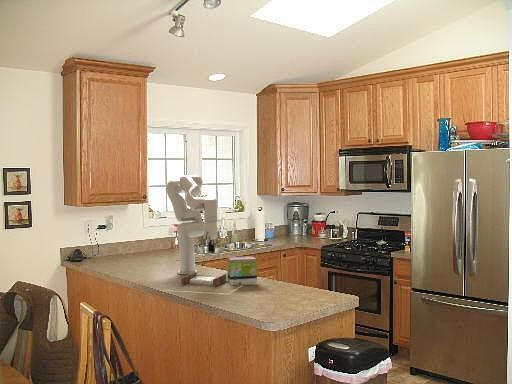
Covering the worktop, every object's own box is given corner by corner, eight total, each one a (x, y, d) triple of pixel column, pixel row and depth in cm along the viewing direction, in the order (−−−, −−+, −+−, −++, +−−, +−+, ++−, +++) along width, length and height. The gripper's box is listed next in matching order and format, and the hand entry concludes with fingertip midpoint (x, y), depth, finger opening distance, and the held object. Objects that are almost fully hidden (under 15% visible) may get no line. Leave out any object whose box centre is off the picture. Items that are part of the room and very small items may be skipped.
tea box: (231, 286, 299) (230, 259, 298) (227, 283, 308) (226, 257, 308) (257, 284, 303) (257, 258, 302) (252, 281, 312) (252, 255, 312)
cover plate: (197, 280, 313) (197, 276, 313) (219, 281, 308) (219, 277, 308) (189, 284, 303) (189, 279, 303) (212, 285, 299) (212, 280, 299)
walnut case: (194, 280, 316) (194, 272, 316) (226, 282, 310) (226, 273, 310) (181, 286, 300) (181, 277, 300) (214, 288, 294) (214, 279, 294)
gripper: (210, 218, 323) (210, 249, 323) (199, 220, 308) (200, 253, 309) (221, 218, 320) (222, 249, 321) (211, 221, 306) (212, 253, 307)
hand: (211, 251), depth 315 cm, fingers closed
